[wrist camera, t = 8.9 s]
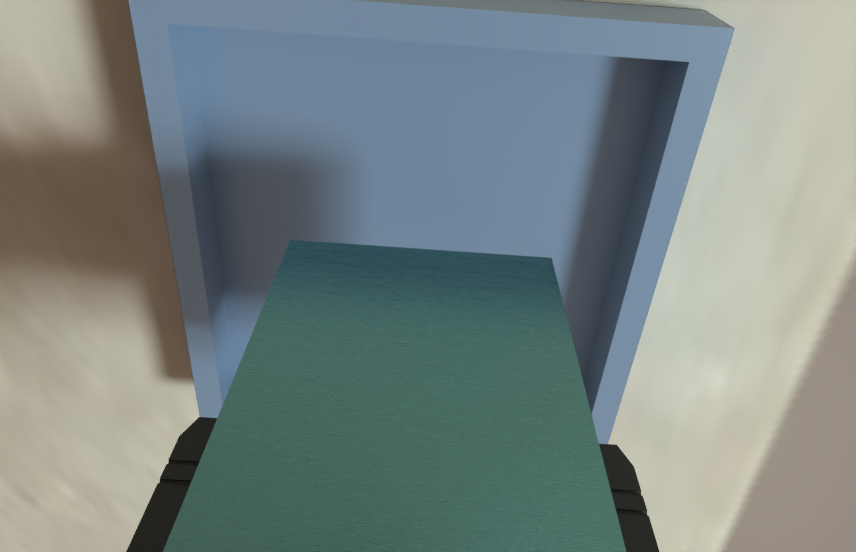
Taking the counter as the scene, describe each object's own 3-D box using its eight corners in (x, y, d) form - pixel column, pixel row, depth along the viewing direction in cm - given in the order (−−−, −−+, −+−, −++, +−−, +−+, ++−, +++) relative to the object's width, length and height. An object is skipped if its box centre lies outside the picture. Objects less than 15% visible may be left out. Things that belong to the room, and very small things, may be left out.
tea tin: (297, 429, 17) (142, 1019, 8) (285, 235, 14) (21, 854, 5) (519, 444, 17) (591, 1043, 8) (557, 254, 14) (730, 895, 5)
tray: (218, 382, 24) (200, 423, 22) (158, -31, 16) (125, -17, 15) (595, 406, 24) (606, 449, 22) (705, 10, 16) (734, 28, 15)
